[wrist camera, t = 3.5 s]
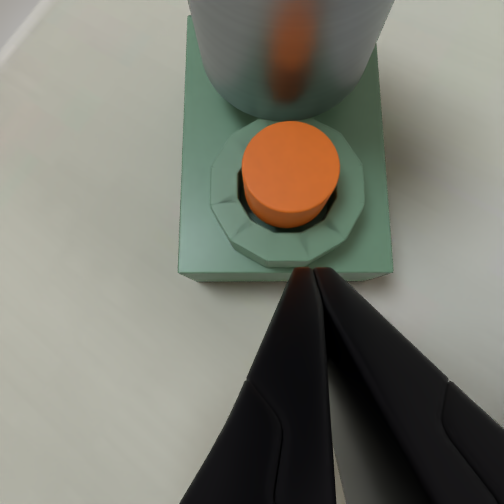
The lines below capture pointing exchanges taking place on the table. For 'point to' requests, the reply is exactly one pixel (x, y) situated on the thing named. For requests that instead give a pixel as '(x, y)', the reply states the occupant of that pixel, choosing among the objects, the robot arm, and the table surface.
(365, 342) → the robot arm
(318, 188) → the button
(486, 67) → the table surface
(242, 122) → the kettle base
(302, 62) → the kettle
